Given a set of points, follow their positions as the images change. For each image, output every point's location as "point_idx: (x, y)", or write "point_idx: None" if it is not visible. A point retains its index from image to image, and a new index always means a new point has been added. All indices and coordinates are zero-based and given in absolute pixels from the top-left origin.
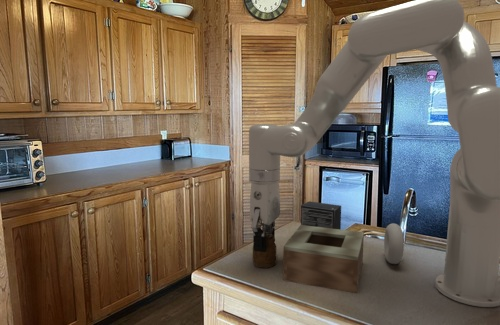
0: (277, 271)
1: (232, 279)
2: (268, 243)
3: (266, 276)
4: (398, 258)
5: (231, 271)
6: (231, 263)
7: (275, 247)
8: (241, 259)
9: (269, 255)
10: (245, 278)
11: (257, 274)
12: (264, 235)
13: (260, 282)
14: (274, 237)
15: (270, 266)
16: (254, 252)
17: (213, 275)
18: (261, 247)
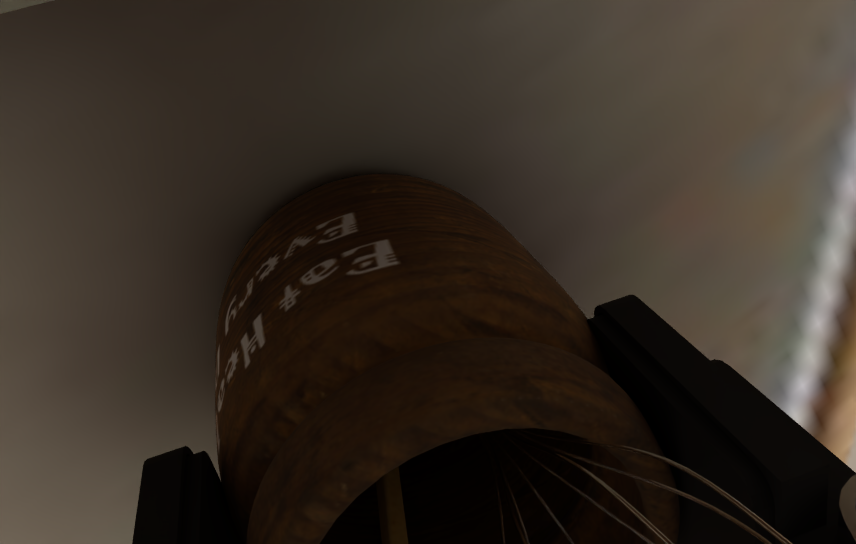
0: (480, 40)
1: (840, 306)
2: (596, 369)
3: (662, 78)
4: None
5: None
6: None
7: (385, 278)
8: None
9: (513, 246)
10: (785, 230)
11: (661, 191)
12: (852, 504)
13: (810, 48)
14: (392, 431)
15: (438, 184)
16: (565, 446)
17: None
18: (732, 369)
